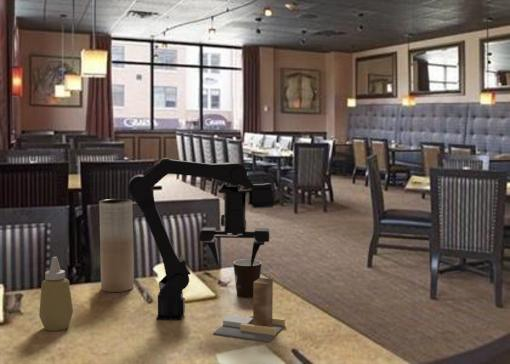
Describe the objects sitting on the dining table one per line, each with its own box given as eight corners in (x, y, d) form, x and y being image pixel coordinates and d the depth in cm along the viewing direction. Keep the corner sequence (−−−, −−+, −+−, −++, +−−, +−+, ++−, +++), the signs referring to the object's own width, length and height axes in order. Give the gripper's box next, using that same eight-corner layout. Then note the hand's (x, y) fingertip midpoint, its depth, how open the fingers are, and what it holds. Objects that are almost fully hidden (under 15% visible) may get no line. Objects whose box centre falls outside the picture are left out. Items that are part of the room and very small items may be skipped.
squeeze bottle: (80, 324, 143) (78, 255, 141) (59, 335, 135) (57, 262, 133) (54, 320, 145) (52, 252, 144) (32, 331, 138) (29, 259, 136)
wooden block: (253, 329, 139) (253, 282, 138) (259, 323, 143) (259, 277, 142) (266, 331, 137) (266, 283, 136) (272, 325, 142) (272, 279, 140)
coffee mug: (258, 299, 164) (258, 266, 163) (230, 297, 166) (230, 264, 165) (265, 288, 175) (265, 257, 174) (239, 287, 177) (239, 256, 176)
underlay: (213, 334, 136) (213, 326, 136) (232, 318, 148) (233, 311, 147) (269, 342, 131) (269, 334, 131) (285, 325, 142) (285, 318, 142)
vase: (95, 292, 171) (94, 202, 168) (108, 283, 181) (107, 198, 178) (126, 293, 170) (125, 203, 167) (138, 284, 179) (136, 199, 177)
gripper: (269, 205, 158) (269, 259, 159) (204, 204, 158) (204, 258, 160) (269, 211, 147) (269, 269, 148) (199, 210, 147) (199, 268, 149)
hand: (234, 265), depth 152 cm, fingers open, 9 cm apart
